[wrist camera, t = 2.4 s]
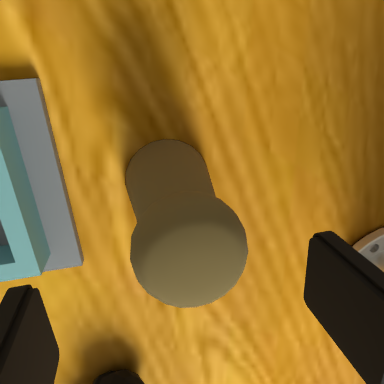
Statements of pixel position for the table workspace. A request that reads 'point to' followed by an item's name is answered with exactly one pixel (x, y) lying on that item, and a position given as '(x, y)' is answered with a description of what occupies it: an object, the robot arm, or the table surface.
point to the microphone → (118, 378)
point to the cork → (181, 227)
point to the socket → (32, 188)
